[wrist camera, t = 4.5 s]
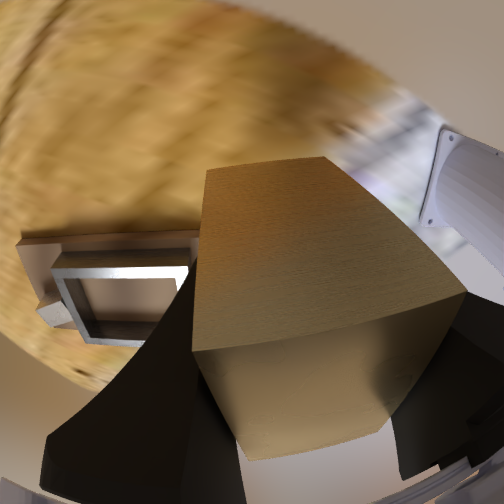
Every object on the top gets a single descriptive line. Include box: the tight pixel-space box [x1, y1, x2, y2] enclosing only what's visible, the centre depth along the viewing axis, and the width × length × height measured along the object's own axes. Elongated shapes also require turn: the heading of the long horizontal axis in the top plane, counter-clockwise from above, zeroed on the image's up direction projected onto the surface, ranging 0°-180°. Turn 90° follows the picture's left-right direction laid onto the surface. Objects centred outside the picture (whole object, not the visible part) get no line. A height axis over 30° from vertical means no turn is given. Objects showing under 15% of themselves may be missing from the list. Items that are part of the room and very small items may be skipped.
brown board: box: [16, 230, 200, 347], centre depth 19 cm, size 19×9×3 cm, turn 88°
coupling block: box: [192, 156, 468, 461], centre depth 8 cm, size 4×6×7 cm, turn 6°
